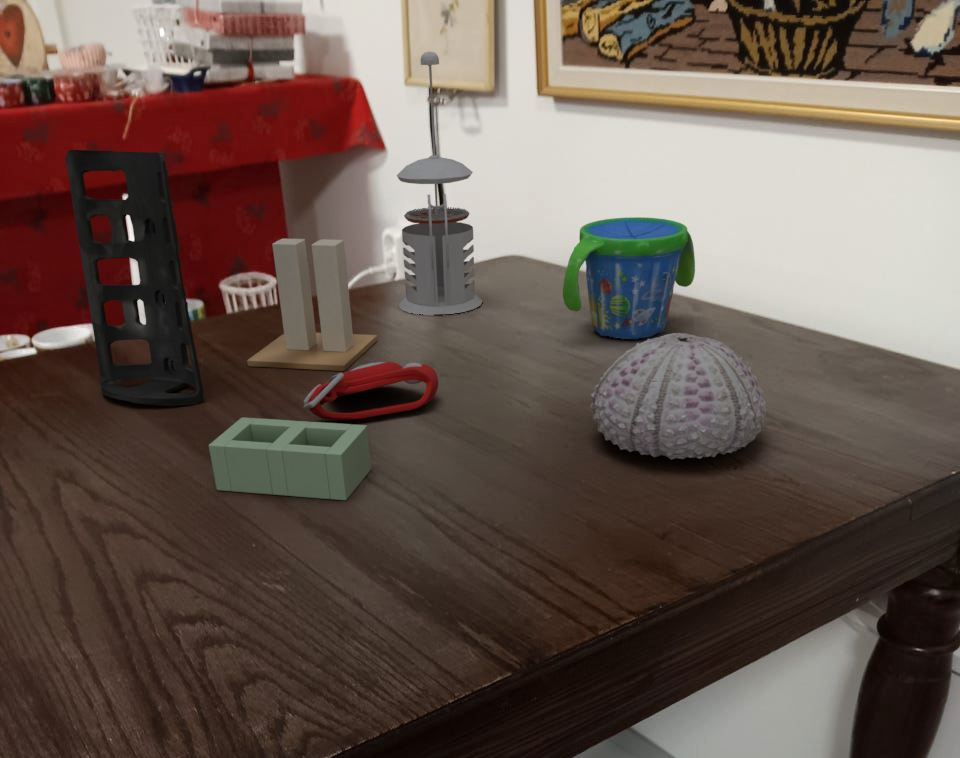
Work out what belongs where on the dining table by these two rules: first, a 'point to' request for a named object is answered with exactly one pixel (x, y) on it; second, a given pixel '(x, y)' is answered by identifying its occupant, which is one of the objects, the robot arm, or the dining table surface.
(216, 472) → the peg rack
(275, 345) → the coaster
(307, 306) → the peg back
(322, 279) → the peg front
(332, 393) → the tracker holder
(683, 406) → the sea urchin shell
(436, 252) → the french press
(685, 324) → the dining table surface
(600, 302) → the snack cup
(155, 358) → the holder
